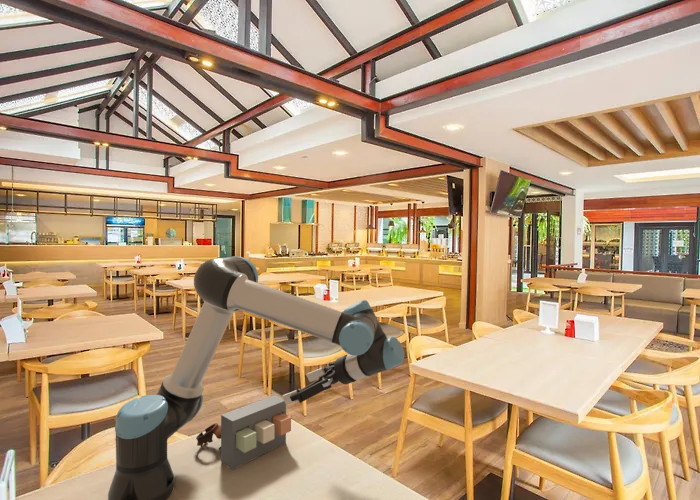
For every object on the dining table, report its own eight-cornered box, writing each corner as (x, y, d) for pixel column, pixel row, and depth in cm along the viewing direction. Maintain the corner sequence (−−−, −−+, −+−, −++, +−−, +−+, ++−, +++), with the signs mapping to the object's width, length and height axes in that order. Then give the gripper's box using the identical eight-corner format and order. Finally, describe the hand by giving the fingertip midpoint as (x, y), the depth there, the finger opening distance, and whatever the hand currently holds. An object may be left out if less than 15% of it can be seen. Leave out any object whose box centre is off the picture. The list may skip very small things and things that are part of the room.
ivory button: (263, 443, 114) (263, 429, 114) (253, 438, 118) (253, 423, 118) (274, 438, 117) (274, 424, 117) (264, 433, 121) (264, 419, 121)
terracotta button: (280, 435, 119) (281, 421, 119) (270, 430, 123) (270, 416, 123) (291, 430, 122) (291, 417, 122) (280, 425, 126) (280, 412, 126)
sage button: (244, 452, 110) (244, 437, 109) (234, 446, 113) (234, 431, 113) (256, 447, 113) (256, 432, 112) (246, 441, 116) (246, 426, 116)
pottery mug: (216, 461, 116) (203, 437, 116) (200, 465, 122) (187, 442, 122) (245, 434, 126) (232, 412, 126) (229, 438, 132) (216, 417, 132)
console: (232, 469, 111) (232, 421, 111) (221, 461, 115) (221, 414, 115) (285, 443, 126) (286, 400, 126) (274, 436, 130) (274, 395, 130)
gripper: (339, 402, 97) (279, 422, 107) (374, 360, 120) (322, 380, 129) (325, 375, 98) (266, 398, 107) (363, 338, 120) (311, 359, 129)
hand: (297, 388), depth 118 cm, fingers open, 13 cm apart
